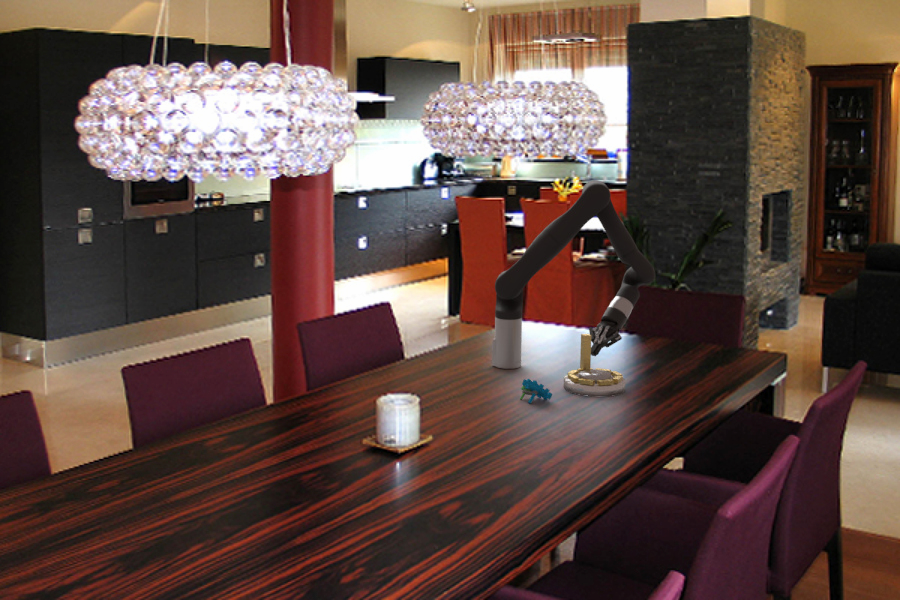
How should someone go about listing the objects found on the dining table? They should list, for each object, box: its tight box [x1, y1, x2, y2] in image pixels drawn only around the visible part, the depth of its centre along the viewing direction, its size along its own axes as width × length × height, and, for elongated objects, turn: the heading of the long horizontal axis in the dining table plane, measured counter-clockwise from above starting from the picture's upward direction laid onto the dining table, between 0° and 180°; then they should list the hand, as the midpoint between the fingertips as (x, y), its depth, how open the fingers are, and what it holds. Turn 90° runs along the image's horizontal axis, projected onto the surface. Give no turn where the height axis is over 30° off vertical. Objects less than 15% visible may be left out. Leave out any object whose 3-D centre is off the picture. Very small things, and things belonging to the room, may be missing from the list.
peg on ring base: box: [567, 333, 624, 385], centre depth 316 cm, size 17×17×13 cm
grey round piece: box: [563, 368, 626, 397], centre depth 318 cm, size 19×19×5 cm
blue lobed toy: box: [519, 378, 553, 404], centre depth 303 cm, size 11×6×10 cm
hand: (592, 354), depth 326 cm, fingers closed
